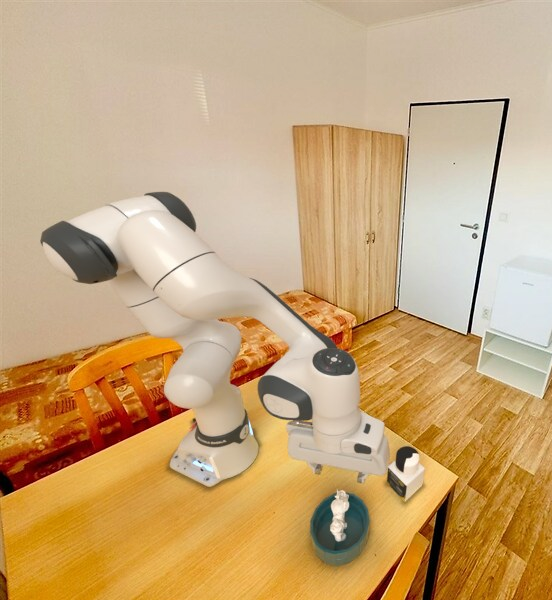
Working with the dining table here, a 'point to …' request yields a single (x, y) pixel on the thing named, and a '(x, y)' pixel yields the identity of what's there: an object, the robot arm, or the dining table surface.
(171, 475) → the dining table surface
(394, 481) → the medicine bottle
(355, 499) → the bowl
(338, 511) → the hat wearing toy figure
